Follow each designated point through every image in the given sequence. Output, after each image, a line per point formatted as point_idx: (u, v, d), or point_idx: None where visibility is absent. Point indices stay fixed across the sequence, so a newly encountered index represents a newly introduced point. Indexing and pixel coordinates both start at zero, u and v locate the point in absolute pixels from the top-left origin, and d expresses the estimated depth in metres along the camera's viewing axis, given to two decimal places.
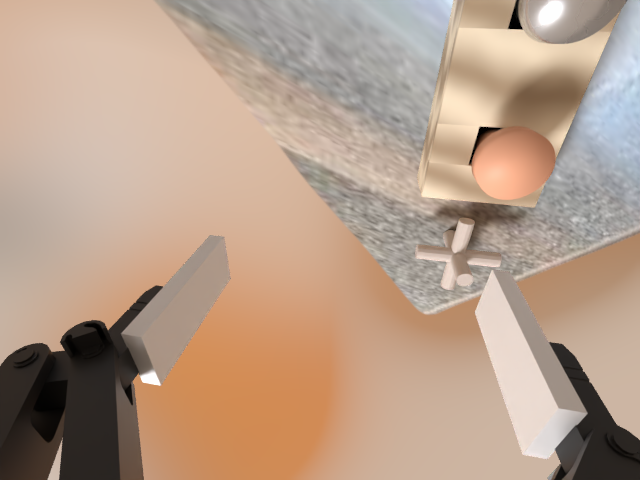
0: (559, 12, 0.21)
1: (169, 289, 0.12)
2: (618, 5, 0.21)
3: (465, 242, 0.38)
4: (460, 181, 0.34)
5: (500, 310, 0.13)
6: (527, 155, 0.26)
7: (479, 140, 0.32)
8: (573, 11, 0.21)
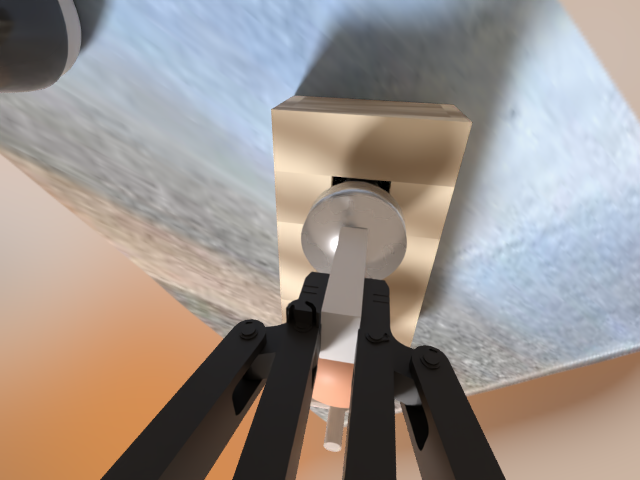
0: None
1: (337, 273, 0.14)
2: (396, 261, 0.18)
3: None
4: None
5: None
6: (347, 377, 0.23)
7: None
8: None
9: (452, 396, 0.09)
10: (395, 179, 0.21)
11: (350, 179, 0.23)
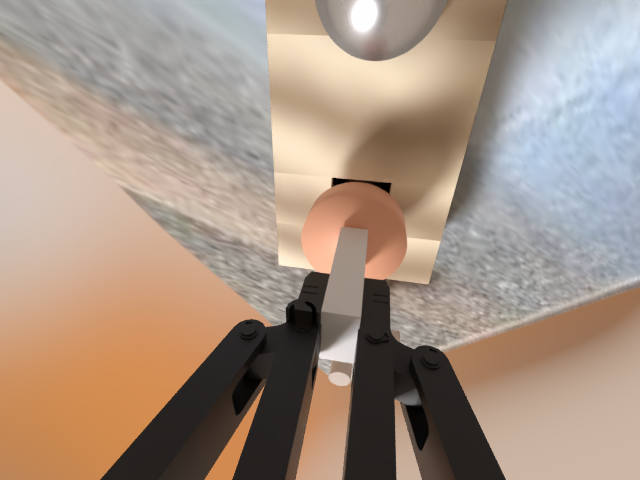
0: (359, 16, 0.14)
1: (337, 273, 0.14)
2: (438, 5, 0.14)
3: None
4: None
5: None
6: None
7: None
8: (378, 14, 0.14)
9: (452, 396, 0.09)
10: None
11: None
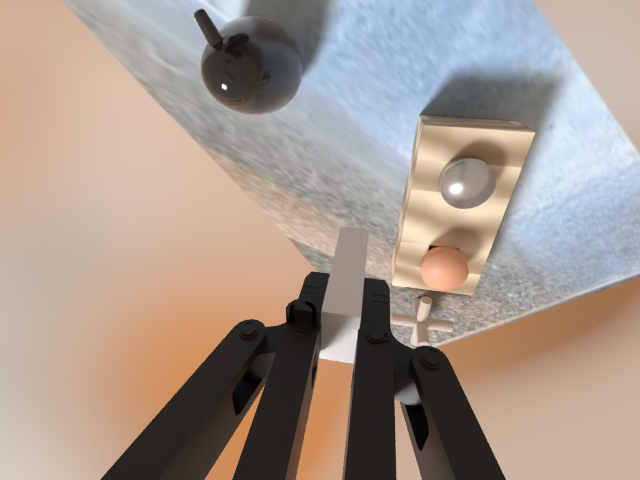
0: (457, 194, 0.38)
1: (337, 273, 0.14)
2: (489, 194, 0.37)
3: (426, 315, 0.51)
4: (419, 277, 0.48)
5: None
6: (451, 267, 0.42)
7: None
8: (465, 195, 0.38)
9: (452, 396, 0.09)
10: (488, 163, 0.37)
11: None
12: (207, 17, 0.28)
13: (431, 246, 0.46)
